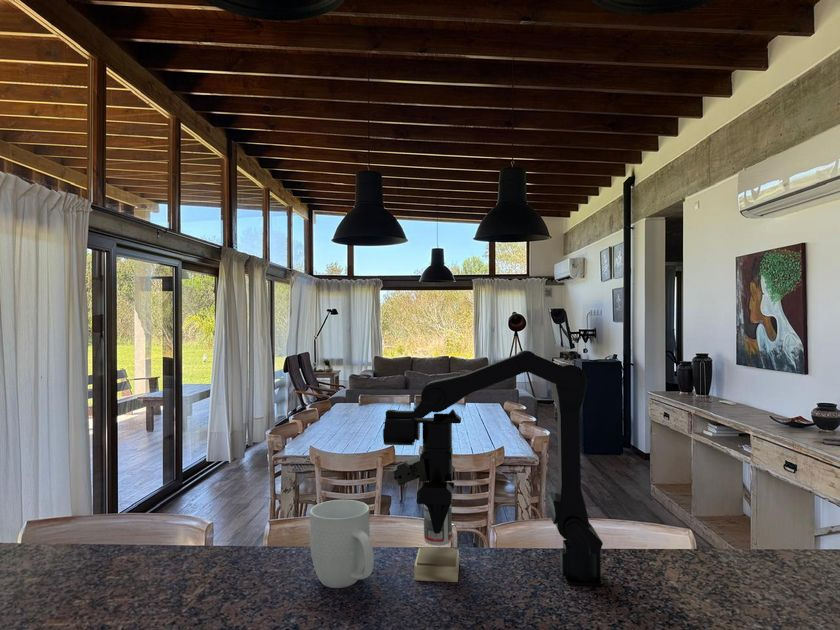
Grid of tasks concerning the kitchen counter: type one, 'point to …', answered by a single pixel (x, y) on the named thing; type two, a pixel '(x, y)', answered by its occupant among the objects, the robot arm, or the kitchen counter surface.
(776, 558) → the kitchen counter surface
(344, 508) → the mug
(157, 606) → the kitchen counter surface
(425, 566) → the plinth
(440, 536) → the pill bottle
